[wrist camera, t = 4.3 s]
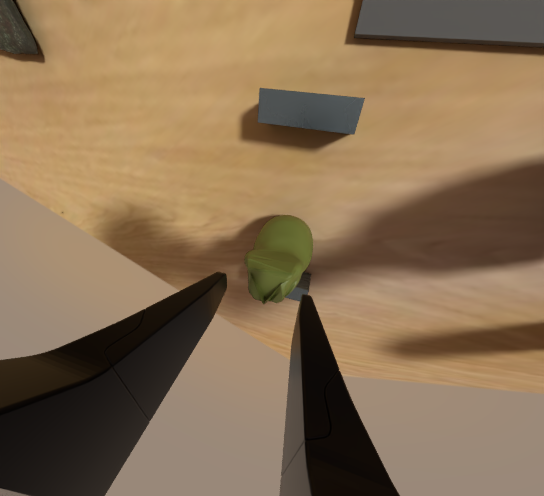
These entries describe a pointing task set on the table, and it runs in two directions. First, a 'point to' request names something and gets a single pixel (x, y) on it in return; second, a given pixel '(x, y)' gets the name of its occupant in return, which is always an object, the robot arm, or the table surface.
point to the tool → (14, 30)
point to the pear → (278, 258)
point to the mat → (454, 21)
